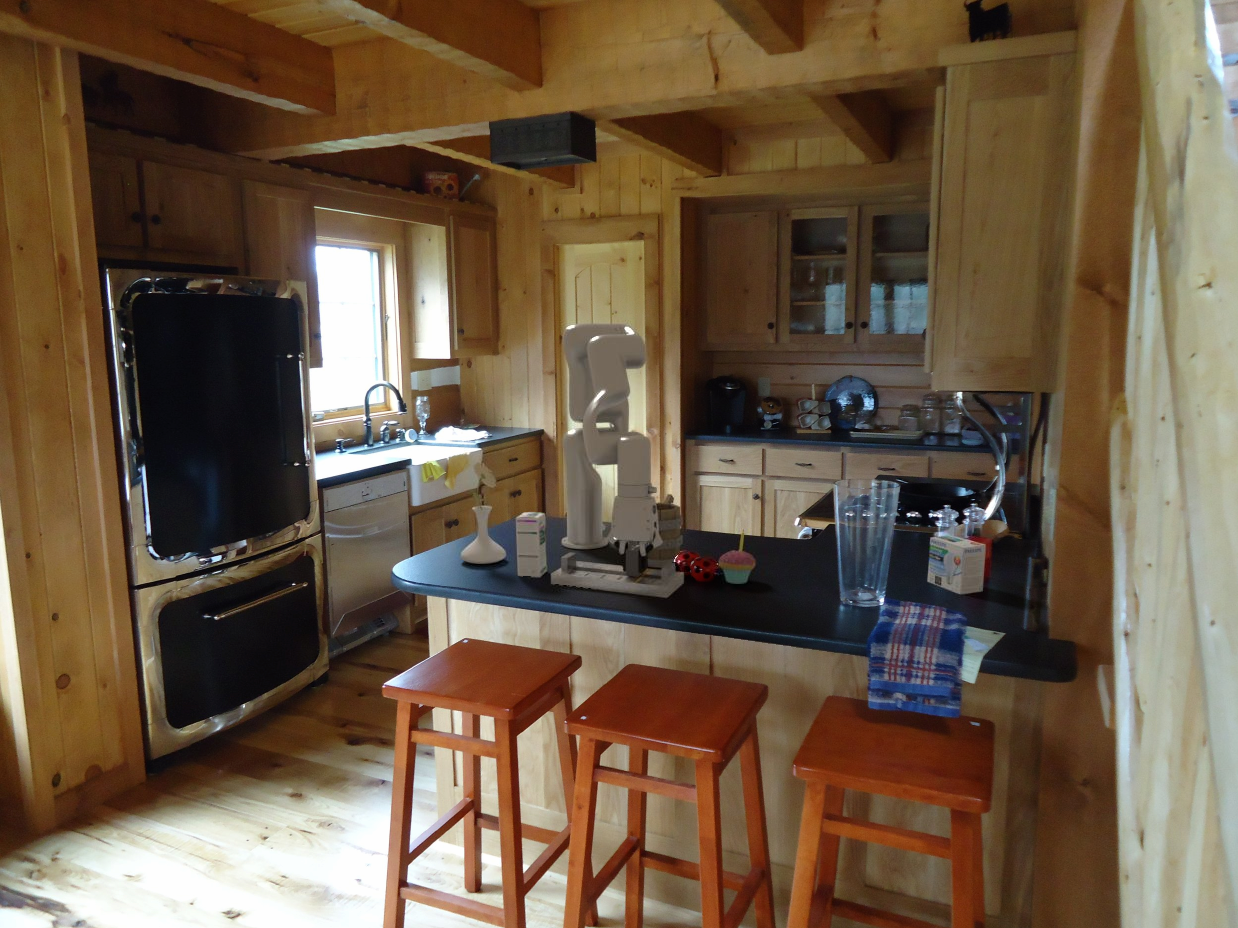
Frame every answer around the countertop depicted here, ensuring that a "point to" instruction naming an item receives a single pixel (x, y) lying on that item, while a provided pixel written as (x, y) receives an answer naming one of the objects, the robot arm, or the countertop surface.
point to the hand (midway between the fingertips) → (634, 570)
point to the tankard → (666, 534)
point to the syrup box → (531, 544)
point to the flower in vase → (483, 526)
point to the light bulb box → (956, 564)
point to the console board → (617, 578)
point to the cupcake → (737, 564)
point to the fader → (632, 561)
